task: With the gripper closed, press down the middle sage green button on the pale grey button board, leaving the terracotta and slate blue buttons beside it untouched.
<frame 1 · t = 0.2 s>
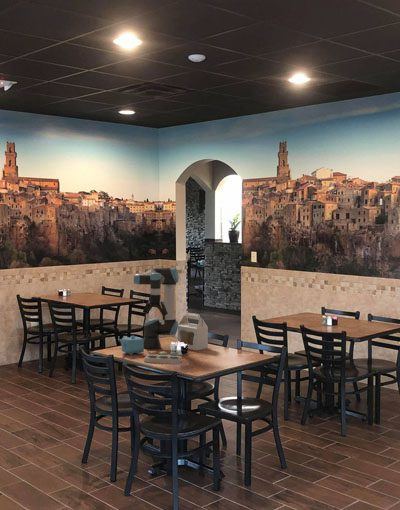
hand: (155, 323, 466), 27 cm above the table, tool pointing down, fingers open, 13 cm apart
slate blue button: (173, 353, 464), point 6 cm above the table, slide at 0.0 cm
gable box: (192, 347, 520), on the table
button board: (163, 361, 465), on the table
teapot: (130, 354, 490), on the table
sage green button: (163, 353, 465), point 6 cm above the table, slide at 0.0 cm
terracotta button: (152, 352, 466), point 6 cm above the table, slide at 0.0 cm
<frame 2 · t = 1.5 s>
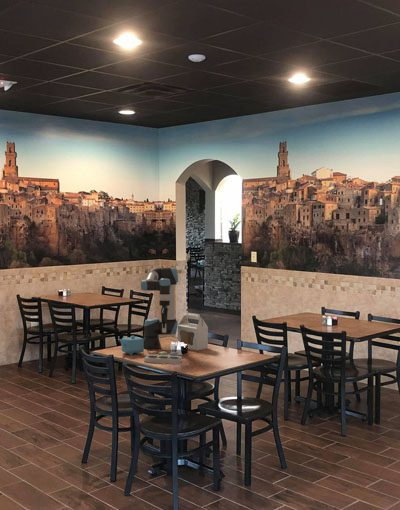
hand: (164, 332, 466), 21 cm above the table, tool pointing down, fingers closed
nothing on the table moved.
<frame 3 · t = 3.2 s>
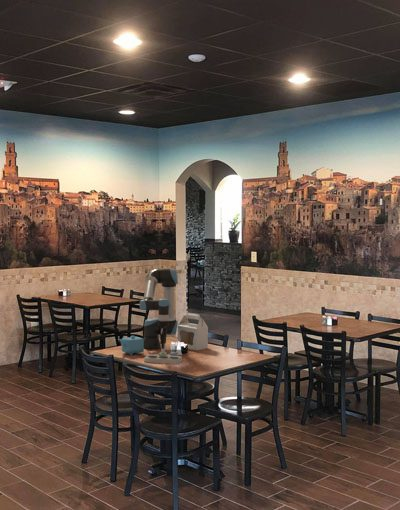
hand: (163, 352, 465), 6 cm above the table, tool pointing down, fingers closed
sage green button: (163, 354, 465), point 5 cm above the table, slide at 0.6 cm, touching gripper
everything else where it was.
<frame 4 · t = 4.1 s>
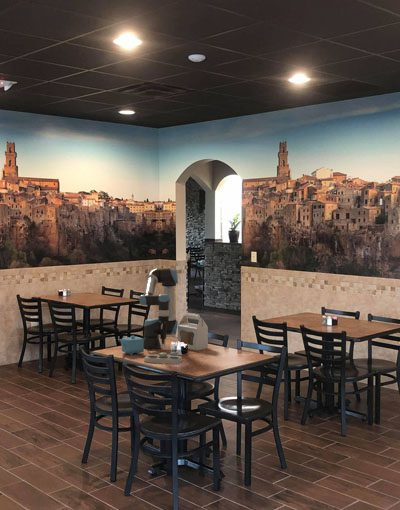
hand: (163, 347, 465), 10 cm above the table, tool pointing down, fingers closed
sage green button: (163, 354, 465), point 5 cm above the table, slide at 0.8 cm
everything else where it was.
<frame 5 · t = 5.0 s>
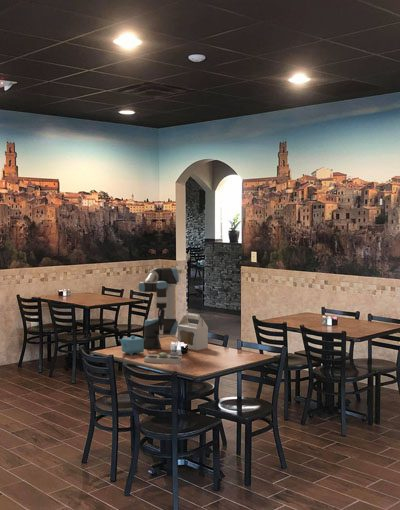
hand: (161, 333, 473), 18 cm above the table, tool pointing down, fingers closed
nothing on the table moved.
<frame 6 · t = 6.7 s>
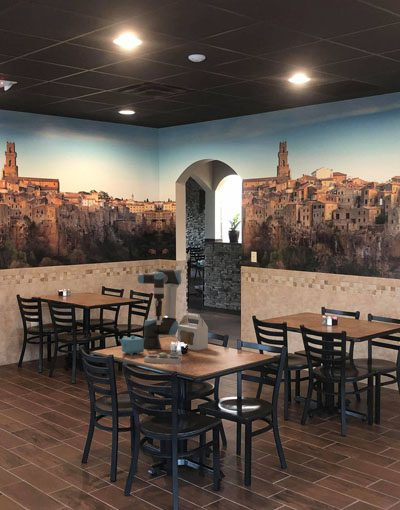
hand: (158, 324, 479), 24 cm above the table, tool pointing down, fingers closed
nothing on the table moved.
at the end: sage green button slide at 0.8 cm; terracotta button slide at 0.0 cm; slate blue button slide at 0.0 cm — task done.
